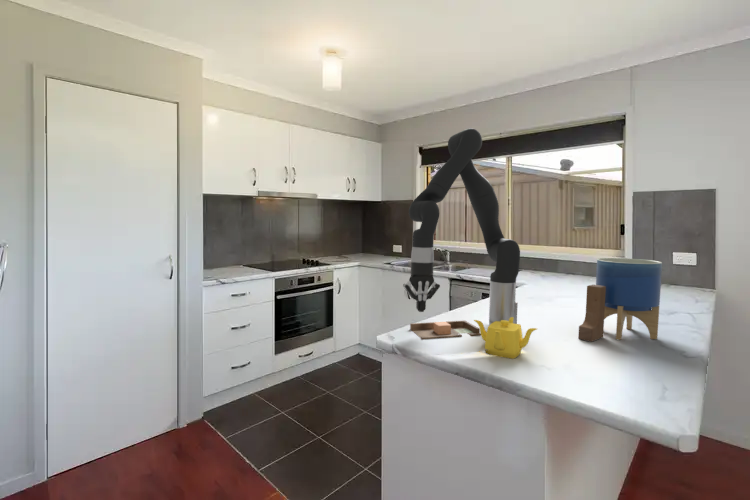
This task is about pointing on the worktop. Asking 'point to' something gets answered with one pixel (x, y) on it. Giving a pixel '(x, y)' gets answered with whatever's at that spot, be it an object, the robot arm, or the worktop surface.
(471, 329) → the box
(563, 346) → the worktop surface
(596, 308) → the wooden block
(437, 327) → the block
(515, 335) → the teapot
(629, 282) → the planter
